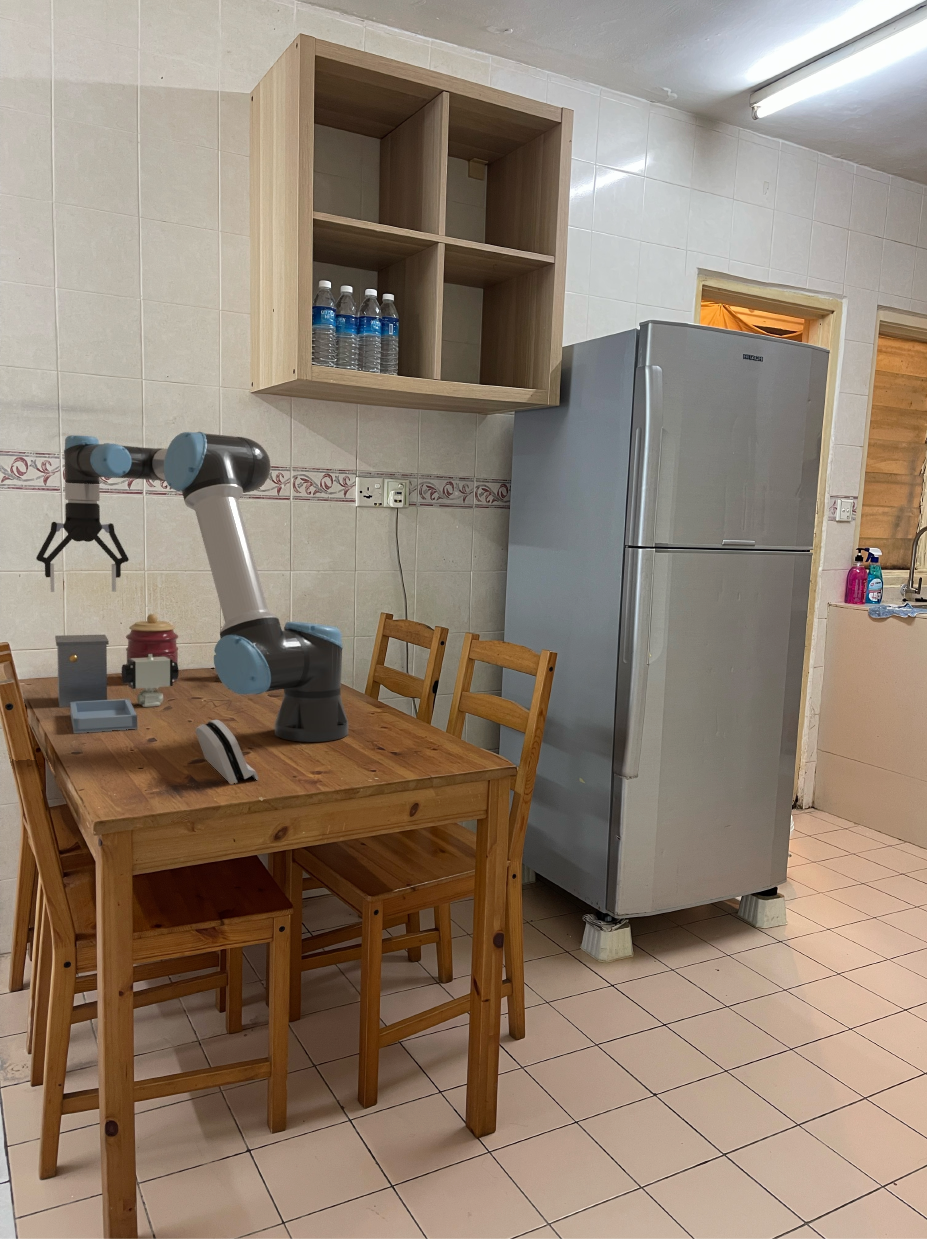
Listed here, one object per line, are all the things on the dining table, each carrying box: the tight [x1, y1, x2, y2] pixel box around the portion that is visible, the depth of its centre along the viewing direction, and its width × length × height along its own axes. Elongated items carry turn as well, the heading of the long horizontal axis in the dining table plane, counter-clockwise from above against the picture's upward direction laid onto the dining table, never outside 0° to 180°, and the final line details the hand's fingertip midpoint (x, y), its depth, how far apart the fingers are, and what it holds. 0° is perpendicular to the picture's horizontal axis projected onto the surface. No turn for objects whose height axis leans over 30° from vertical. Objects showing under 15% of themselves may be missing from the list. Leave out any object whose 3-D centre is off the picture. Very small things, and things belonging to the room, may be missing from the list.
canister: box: [125, 613, 179, 682], centre depth 235 cm, size 13×13×18 cm
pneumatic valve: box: [121, 654, 179, 708], centre depth 207 cm, size 6×12×12 cm, turn 123°
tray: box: [69, 698, 138, 734], centre depth 190 cm, size 17×12×3 cm
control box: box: [54, 634, 110, 708], centre depth 208 cm, size 11×11×15 cm
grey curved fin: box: [194, 719, 260, 784], centre depth 159 cm, size 17×5×10 cm, turn 30°
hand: (83, 591), depth 216 cm, fingers open, 13 cm apart
